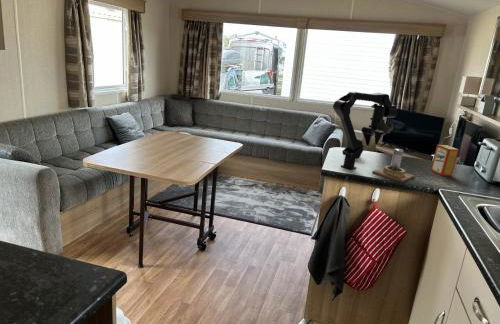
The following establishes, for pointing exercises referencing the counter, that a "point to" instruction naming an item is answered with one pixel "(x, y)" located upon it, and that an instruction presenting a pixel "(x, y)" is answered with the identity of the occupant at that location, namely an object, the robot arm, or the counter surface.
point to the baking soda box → (444, 160)
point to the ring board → (393, 174)
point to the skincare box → (358, 135)
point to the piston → (396, 159)
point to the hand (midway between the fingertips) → (371, 144)
